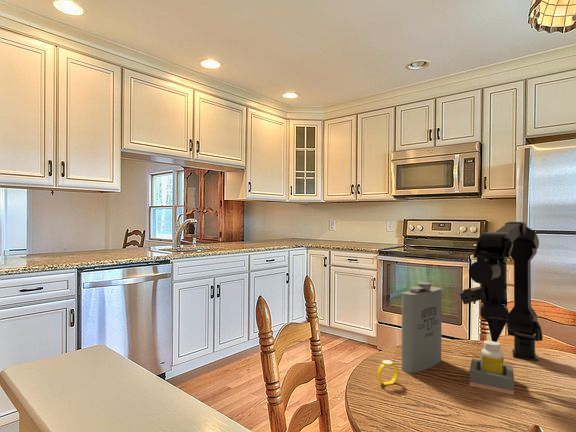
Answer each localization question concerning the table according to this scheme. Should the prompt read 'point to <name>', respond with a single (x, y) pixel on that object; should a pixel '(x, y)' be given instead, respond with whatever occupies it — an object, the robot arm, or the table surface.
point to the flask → (421, 327)
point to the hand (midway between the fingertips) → (494, 336)
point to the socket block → (492, 378)
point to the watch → (384, 364)
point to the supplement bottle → (492, 357)
